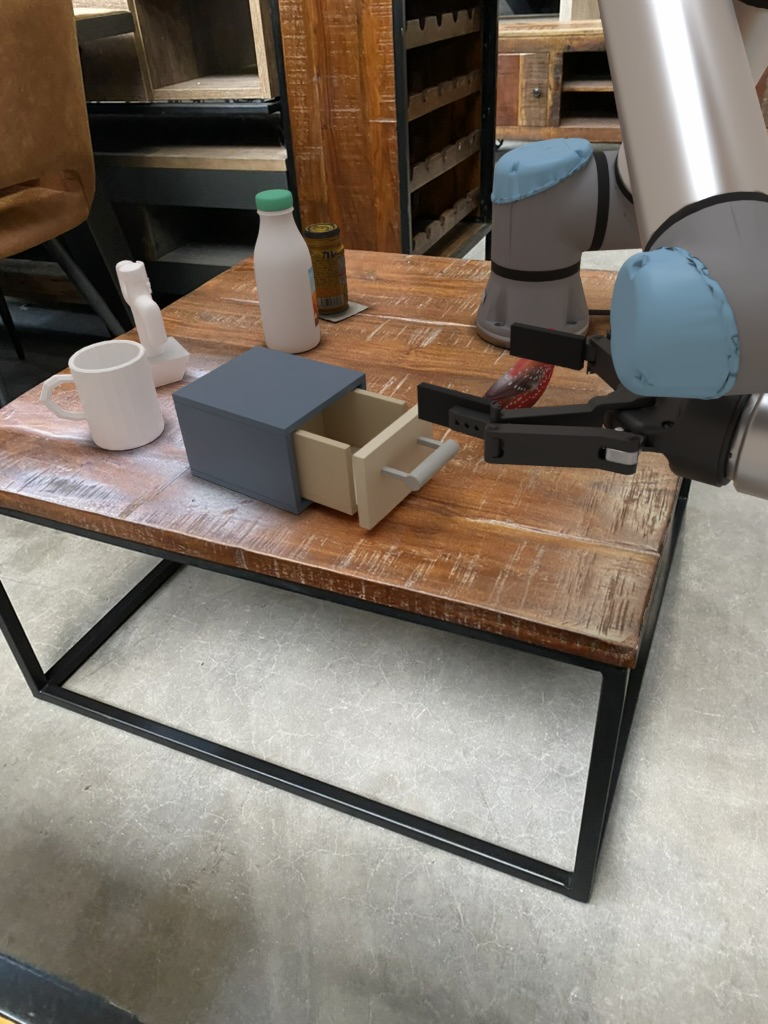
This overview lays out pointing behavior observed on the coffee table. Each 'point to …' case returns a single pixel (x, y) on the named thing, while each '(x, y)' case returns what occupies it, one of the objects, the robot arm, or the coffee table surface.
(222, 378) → the cabinet
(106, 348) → the mug
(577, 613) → the coffee table surface
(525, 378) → the decorative bird figurine
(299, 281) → the milk bottle
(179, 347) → the figurine
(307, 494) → the drawer
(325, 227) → the condiment
